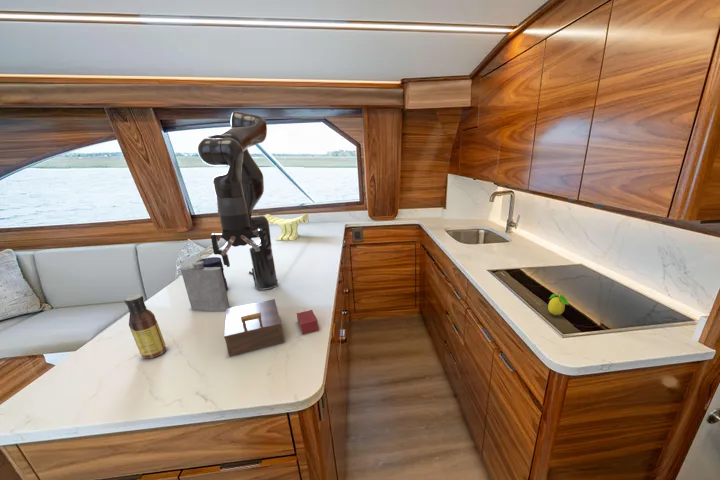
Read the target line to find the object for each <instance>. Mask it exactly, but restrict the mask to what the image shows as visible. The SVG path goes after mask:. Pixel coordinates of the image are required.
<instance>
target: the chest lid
mask: <svg viewBox="0 0 720 480" xmlns="http://www.w3.org/2000/svg"><path fill="white" fill-rule="evenodd" d="M277 326H281V327H282V323H281V318H280V314H279V311H278V307H277V303H276V299H275V298H273V299H268V300H262V301H257V302H251V303H248V304H247V303H246V304H242V305H238V306H232V307H230V308H227V309H226V311H225V321H224V332H223V339H224V340H225V339H226V338H230V337H234V336H238V335H243V334H247V333H251V332H255V331H260V330H264V329H268V328H272V327H277Z"/></svg>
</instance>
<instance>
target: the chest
mask: <svg viewBox="0 0 720 480" xmlns="http://www.w3.org/2000/svg"><path fill="white" fill-rule="evenodd" d="M283 334H284V333H283V329H282V325H281V326H277V327H272V328H268V329H264V330H260V331H255V332H251V333H247V334H243V335H238V336H234V337H230V338H226V339H224V340H225V344H226V349H227V352H228V356H229V357H233V356H237V355H241V354H245V353H248V352H253V351H257V350H261V349H265V348H268V347H271V346H276V345H279V344H285V340H284V335H283Z"/></svg>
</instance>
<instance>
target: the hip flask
mask: <svg viewBox="0 0 720 480" xmlns="http://www.w3.org/2000/svg"><path fill="white" fill-rule="evenodd" d="M203 264H204V263H203V262H197V261H195V262H193V263H192V266H182V267H181V268H180V272H181V276H182V280H183V283H184V286H185V290H186V293H187V297H188V301H189V305H190V308H191V310H192V311H198V312H226V309H227V308H231V306H230V301H229V298H228V292H227V291H226V288H225V284H224V280H223V275H222V271H221V268H220V267H204V266H203Z"/></svg>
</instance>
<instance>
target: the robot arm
mask: <svg viewBox="0 0 720 480" xmlns="http://www.w3.org/2000/svg"><path fill="white" fill-rule="evenodd" d="M230 116H231V117H230V127H231V128H228V129H225V131H222V132H221V133H219V134H213V135H209V136H206V137H203V138H202V139H201V140H200V141H199V142H198V146H197V154H198V156H199V158H200V160H202V162H203V163H205V164H207V165H209V166H212V167H228V170H227V172H226V173H222V174H218V175H215V176H214V177H213V178H212V183H213V184H212V185H213V189H214V192H215V197H216V207H217V214H218V217H219V221H220V227H221V230H222V231H221V233H215V232H212V233H211V235H210V239H211V245H212V251H213V252H212V253H213V254H214V255H215V256H217V255H220V256H221V260H222V264H223V266H226V268H230V267H231V264H230V259H229V254H228V252H229V250H230V248H231V247H235V248H236V247H240V246H241V247H244V246H247V245H249V254H250V260H251V265H252V268H251V271H248V273H249V274H251V275H252V277H253V282H254V283H253V284H254V288H256V289H257V290H258V291H267V290H272V289H276V287H278V286H279V282H278V278H277V272H276V271H277V270H276V265H275V260H274V254H273V247H272V238H271V229H270V224H269V223H268V220H267V218H266V217H265V216H264V215H258V216H257V215H256V216H252V214H253V211H254V209H255V207H256V205H257V204H258V203H259V201H260V200H261V198H262V197H263V194H264V191H265V182H264V181H265V180H264V174H263V172H262V170H261V169H260V167H259V166H258V164H257V163H256V161H255V160H254V158H253V157H252V155H251V154H250V151H249V150H248V149H249V148H250V147H253V146H256V145H259V144H262V143H264V142H265V140H266V139H267V136H268V135H267V134H268V125H267V121H266V120H265V118H264V117H263V116H260V115H258V114H253V113H249V112H244V111H239V110H235V111H232V113H231V115H230ZM221 238H222V239H223V240H224V241H225V242H226V243H225V244H224V246H223V248H222V249H221V248H219V242H220V240H221ZM258 238H259V240H258V241H256V242H255V241H254V240H253V239H258Z"/></svg>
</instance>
